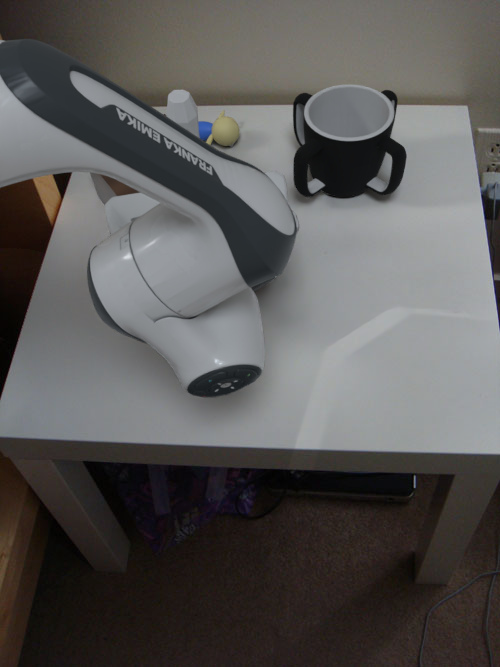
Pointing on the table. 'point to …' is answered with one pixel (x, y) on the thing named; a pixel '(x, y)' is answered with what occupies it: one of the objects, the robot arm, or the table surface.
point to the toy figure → (220, 130)
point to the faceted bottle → (183, 110)
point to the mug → (346, 141)
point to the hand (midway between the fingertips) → (191, 166)
